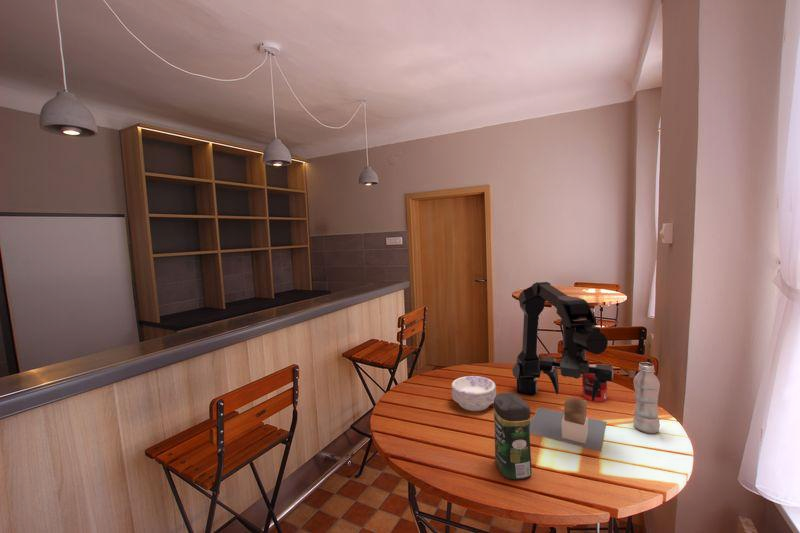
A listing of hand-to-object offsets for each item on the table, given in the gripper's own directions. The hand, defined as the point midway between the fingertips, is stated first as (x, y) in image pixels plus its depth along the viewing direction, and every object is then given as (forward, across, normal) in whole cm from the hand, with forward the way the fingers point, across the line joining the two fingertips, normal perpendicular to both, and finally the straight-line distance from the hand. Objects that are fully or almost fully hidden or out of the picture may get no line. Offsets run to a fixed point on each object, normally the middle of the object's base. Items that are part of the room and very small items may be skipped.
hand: (574, 397), depth 102 cm
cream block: (+12, 0, 0) cm, 12 cm away
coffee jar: (+12, -11, -23) cm, 28 cm away
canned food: (+12, +2, +30) cm, 33 cm away
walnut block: (+6, 0, 0) cm, 7 cm away
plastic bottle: (+12, +17, +14) cm, 25 cm away
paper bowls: (+12, -33, +5) cm, 36 cm away
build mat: (+12, -3, +4) cm, 13 cm away
